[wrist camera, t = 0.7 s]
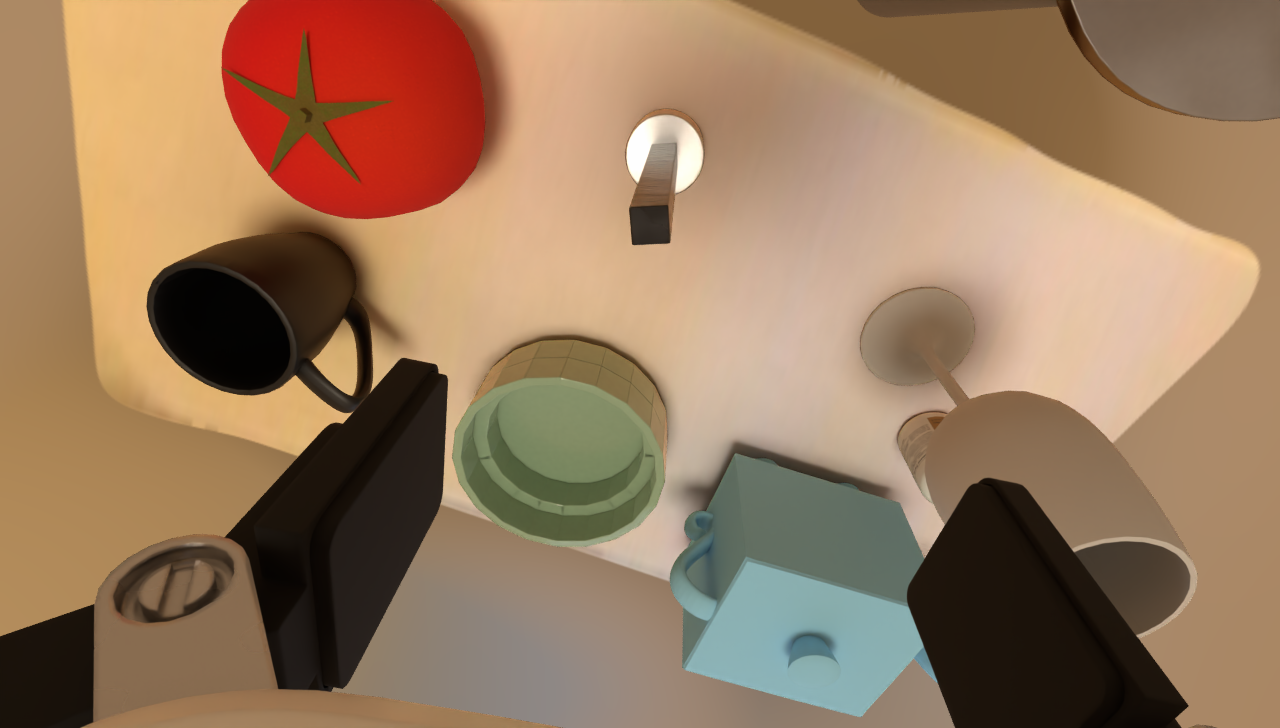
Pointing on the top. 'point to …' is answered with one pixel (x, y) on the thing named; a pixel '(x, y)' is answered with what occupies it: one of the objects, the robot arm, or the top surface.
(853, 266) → the top surface
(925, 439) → the pill bottle
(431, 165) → the tomato
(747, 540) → the teapot
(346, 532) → the robot arm
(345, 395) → the mug
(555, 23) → the top surface
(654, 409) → the bowl
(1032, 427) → the wineglass
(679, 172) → the square post on disc
